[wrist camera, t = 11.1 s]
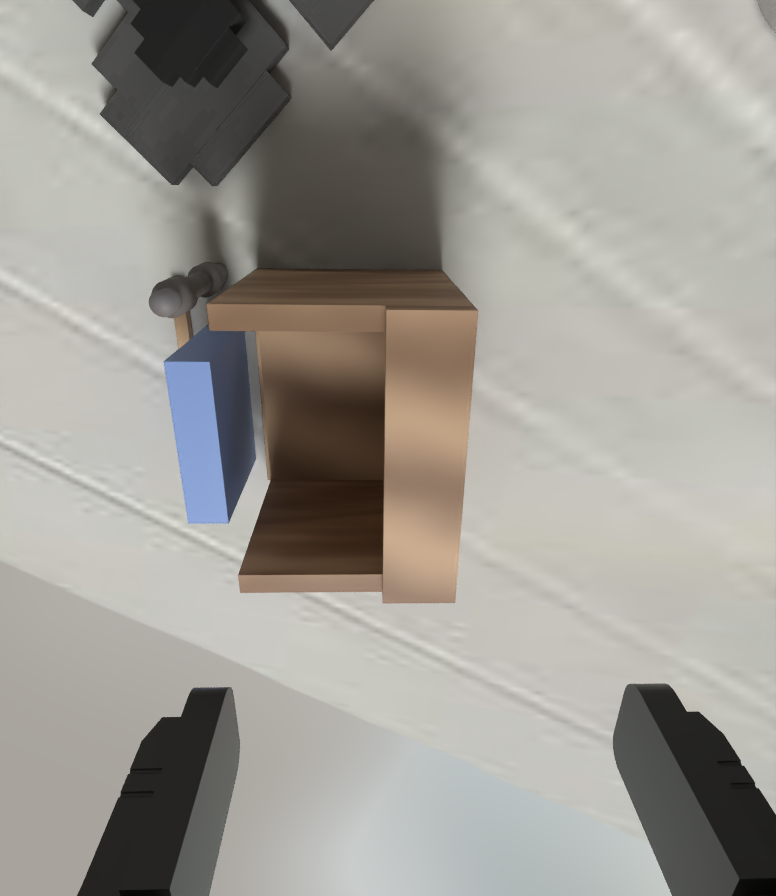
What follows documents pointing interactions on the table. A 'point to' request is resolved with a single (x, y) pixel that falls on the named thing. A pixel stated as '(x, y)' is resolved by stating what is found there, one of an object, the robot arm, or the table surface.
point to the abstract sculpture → (201, 77)
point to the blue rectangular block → (212, 422)
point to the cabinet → (351, 423)
